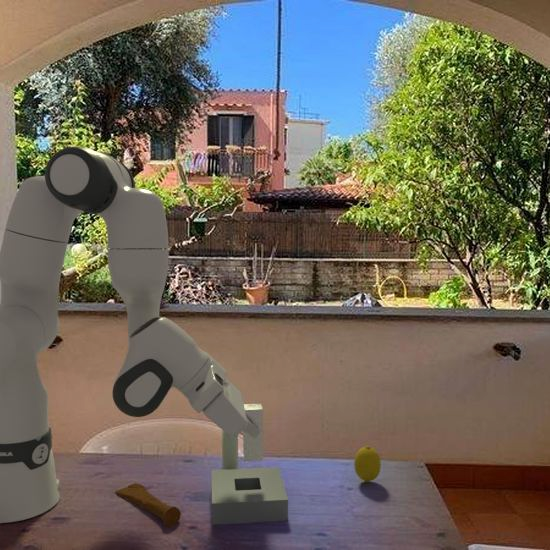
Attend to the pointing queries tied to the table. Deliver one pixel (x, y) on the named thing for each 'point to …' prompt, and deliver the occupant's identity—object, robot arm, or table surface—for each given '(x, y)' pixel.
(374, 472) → the lemon
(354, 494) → the table surface
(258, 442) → the square bit
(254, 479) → the socket block
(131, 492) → the primitive tool
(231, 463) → the round bit
